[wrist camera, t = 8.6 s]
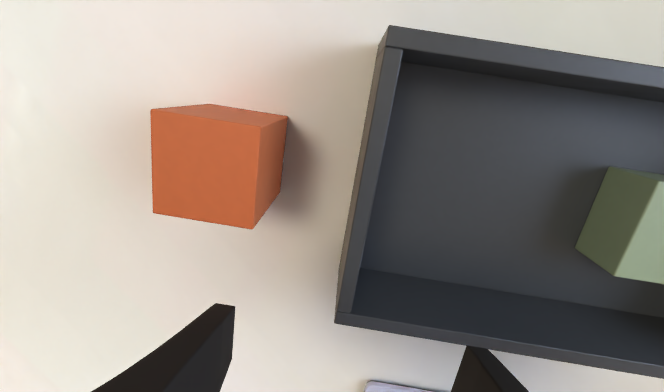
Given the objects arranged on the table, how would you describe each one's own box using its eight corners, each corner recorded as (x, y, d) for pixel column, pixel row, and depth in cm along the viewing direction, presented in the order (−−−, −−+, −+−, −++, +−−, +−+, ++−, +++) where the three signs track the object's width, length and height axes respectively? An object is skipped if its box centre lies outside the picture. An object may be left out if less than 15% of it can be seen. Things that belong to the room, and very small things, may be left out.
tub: (666, 324, 20) (763, 395, 15) (338, 269, 20) (333, 323, 16) (789, 107, 16) (970, 114, 11) (378, 44, 16) (388, 24, 12)
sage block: (658, 262, 18) (714, 293, 16) (573, 248, 19) (613, 276, 16) (700, 180, 17) (770, 198, 14) (608, 165, 17) (659, 180, 14)
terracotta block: (279, 192, 19) (252, 230, 14) (206, 180, 19) (152, 213, 14) (288, 116, 18) (261, 126, 13) (208, 103, 18) (149, 108, 13)
